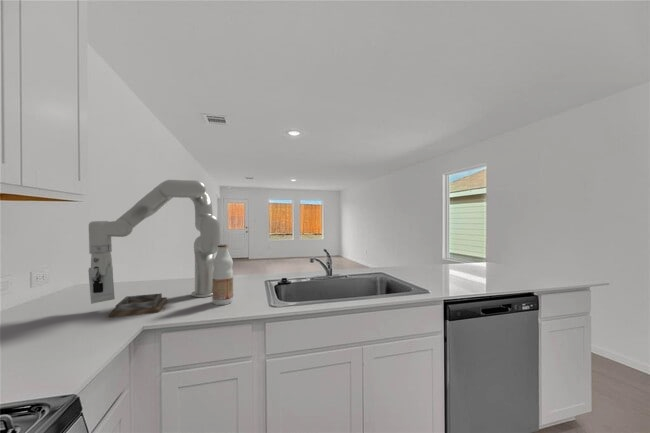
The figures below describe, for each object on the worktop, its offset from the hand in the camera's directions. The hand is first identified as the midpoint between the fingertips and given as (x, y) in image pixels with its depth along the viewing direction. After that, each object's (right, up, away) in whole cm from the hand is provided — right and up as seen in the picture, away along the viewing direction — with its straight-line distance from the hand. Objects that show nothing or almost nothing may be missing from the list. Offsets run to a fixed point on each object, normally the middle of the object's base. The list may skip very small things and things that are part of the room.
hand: (101, 289), depth 120 cm
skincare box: (0, -5, 0) cm, 5 cm away
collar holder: (+13, -9, +5) cm, 17 cm away
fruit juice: (+47, -10, +14) cm, 50 cm away
